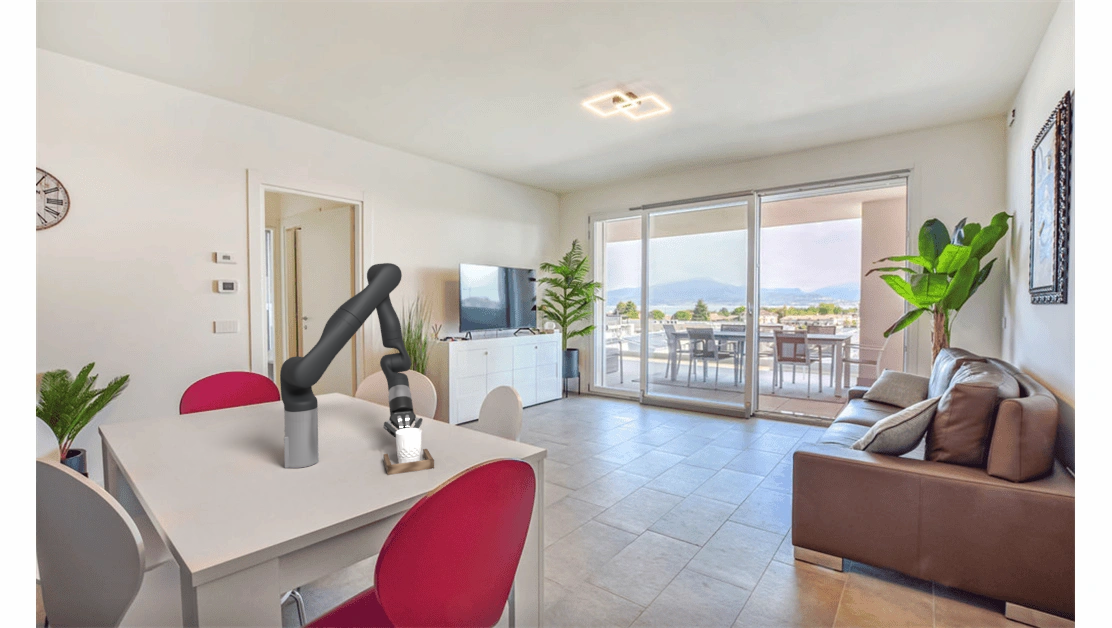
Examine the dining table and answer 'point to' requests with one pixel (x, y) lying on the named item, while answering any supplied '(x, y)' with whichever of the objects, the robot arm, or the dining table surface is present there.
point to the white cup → (408, 444)
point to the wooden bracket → (409, 464)
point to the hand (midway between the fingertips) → (406, 447)
